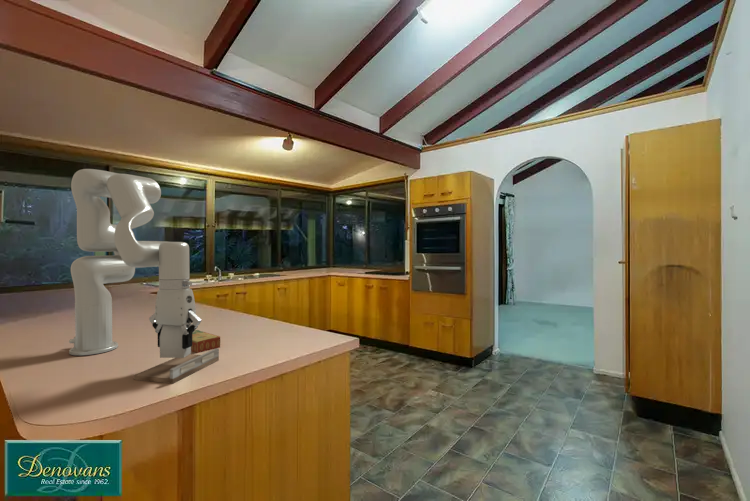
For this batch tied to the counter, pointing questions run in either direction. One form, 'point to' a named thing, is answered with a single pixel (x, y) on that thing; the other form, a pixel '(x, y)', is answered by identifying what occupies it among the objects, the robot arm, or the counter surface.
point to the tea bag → (172, 342)
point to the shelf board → (178, 368)
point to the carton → (204, 341)
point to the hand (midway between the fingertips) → (175, 346)
